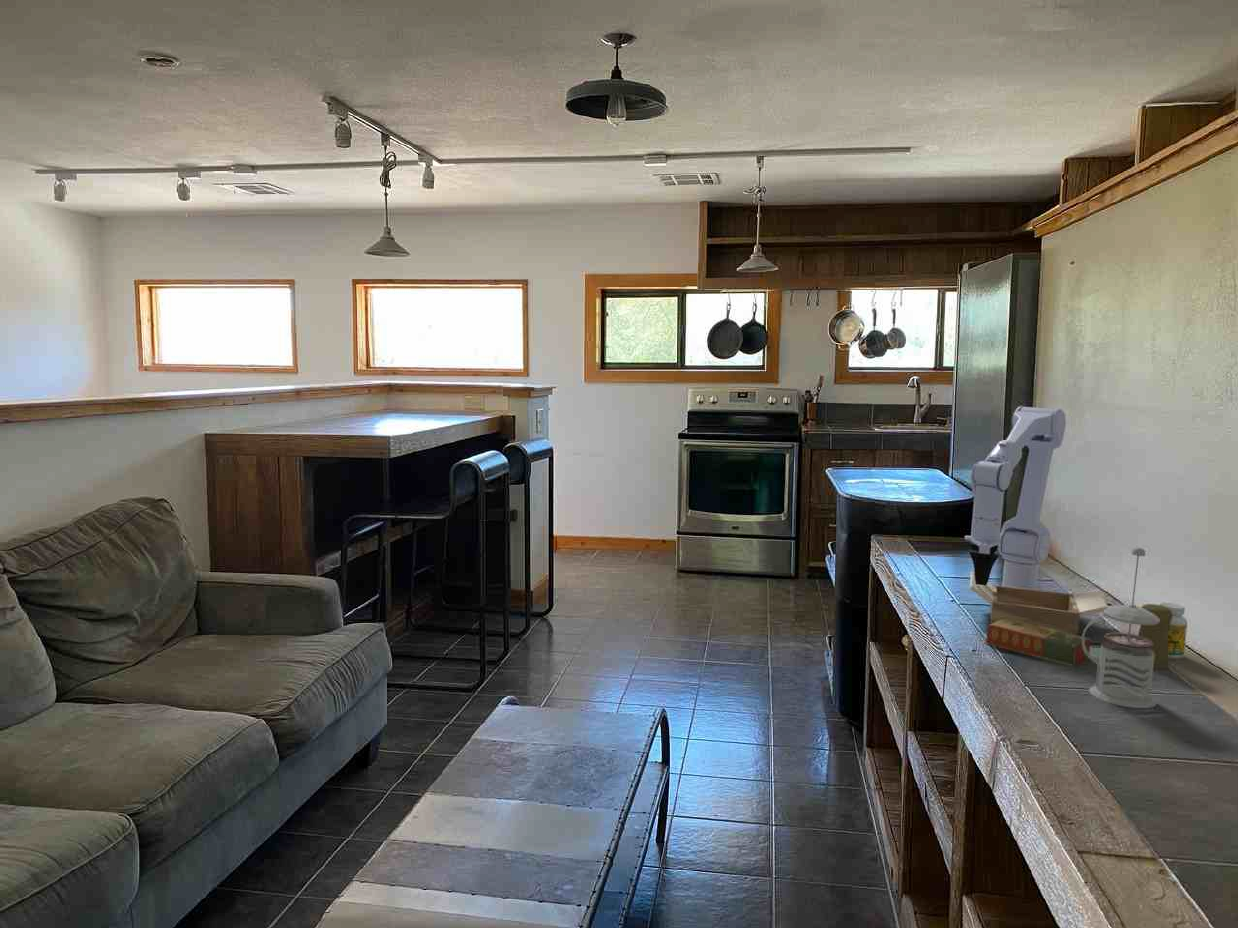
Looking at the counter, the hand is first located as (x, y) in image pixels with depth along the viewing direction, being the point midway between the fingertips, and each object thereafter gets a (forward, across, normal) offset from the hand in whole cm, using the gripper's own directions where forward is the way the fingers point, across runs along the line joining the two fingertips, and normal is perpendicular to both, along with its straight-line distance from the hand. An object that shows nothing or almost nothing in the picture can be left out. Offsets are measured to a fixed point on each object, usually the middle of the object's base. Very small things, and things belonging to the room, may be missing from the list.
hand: (981, 580), depth 193 cm
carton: (+8, +21, +10) cm, 25 cm away
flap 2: (+1, 0, +21) cm, 21 cm away
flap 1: (+1, 0, 0) cm, 1 cm away
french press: (+8, +40, +22) cm, 46 cm away
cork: (+8, +19, +30) cm, 36 cm away
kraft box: (+7, 0, +10) cm, 13 cm away
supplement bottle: (+8, +11, +34) cm, 36 cm away
